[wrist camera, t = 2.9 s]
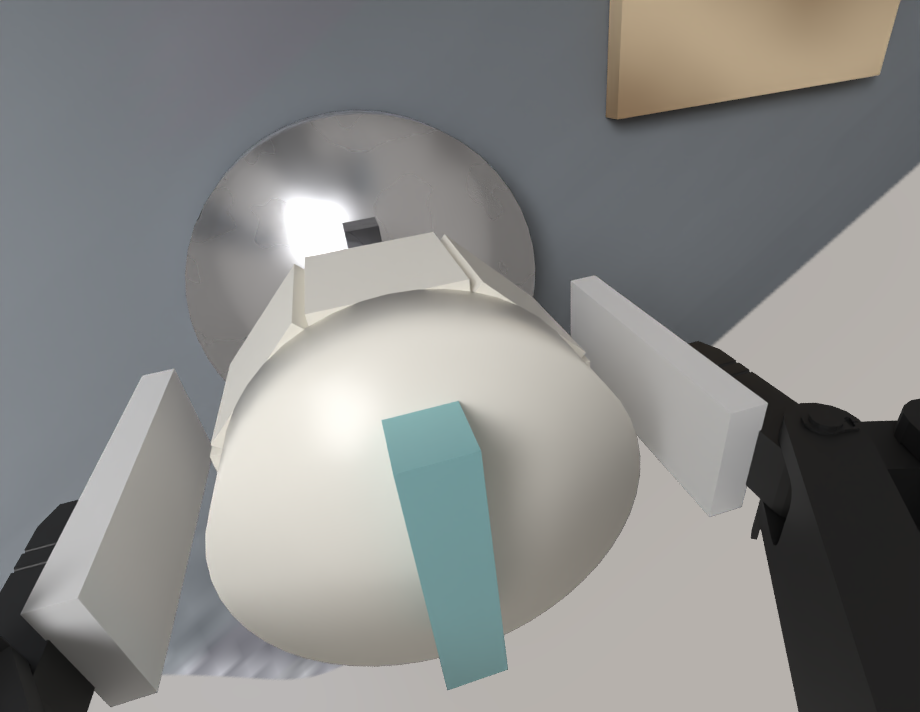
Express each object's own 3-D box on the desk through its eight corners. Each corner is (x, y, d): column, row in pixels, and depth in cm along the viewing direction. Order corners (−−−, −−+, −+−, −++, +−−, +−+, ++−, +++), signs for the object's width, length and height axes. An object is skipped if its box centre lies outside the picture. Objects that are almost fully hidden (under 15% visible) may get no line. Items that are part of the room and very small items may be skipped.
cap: (185, 278, 11) (76, 481, 6) (534, 210, 12) (710, 325, 7) (292, 526, 15) (286, 777, 10) (543, 456, 16) (657, 645, 11)
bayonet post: (129, 142, 15) (-86, 244, 7) (511, 84, 17) (711, 108, 9) (259, 446, 21) (230, 694, 13) (527, 379, 23) (652, 557, 15)
